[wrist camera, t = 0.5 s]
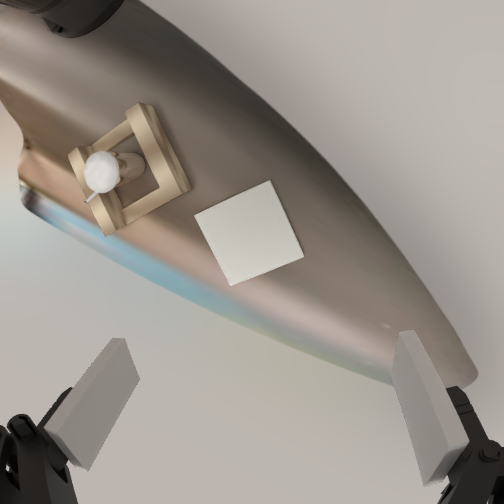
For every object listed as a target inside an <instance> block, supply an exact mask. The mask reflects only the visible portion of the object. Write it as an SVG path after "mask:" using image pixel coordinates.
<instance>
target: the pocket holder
mask: <svg viewBox="0 0 504 504" xmlns="http://www.w3.org/2000/svg"><path fill="white" fill-rule="evenodd" d="M125 114H126V116H127V118H128V119H127V120H125V121H124V122H123V123H121V124H120V125H118V126H117V127H115V128H114V129H113V130H111V131H110V132H108V133H107V134H106V135H104V136H103V137H102V138H100V139H99V140H98V141H96V142H95V143H94V144H92V145H91V146H83V147H77V148H76V149H74V150H73V151H72V152H71V153H70V154H68V158H69V160H70V163H71V165H72V167H73V170H74V172H75V174H76V177H77V179H78V181H79V183H80V186H81V188H82V190H83V192H84V194H85V196H86V199H87V198H89V197H90V196H91V195H92V194H93V193H94V192H95V191H93V190H92V189H90V188H89V187H88V185H87V183H86V180H85V177H84V174H83V171H84V167H85V164H86V161H87V159H88V158H89V157H90V156H91V155H92V154H94V153H96V152H99V151H108V152H109V151H110V150H112V149H113V148H115V147H116V146H117V145H119V144H120V143H122V142H123V141H125V140H126V139H128V138H129V137H131V136H132V135H134V134H135V136H136V138H137V140H138V142H139V144H140V147H141V149H142V151H143V153H144V155H145V157H146V159H147V161H148V163H149V166H150V168H151V170H152V172H153V174H154V176H155V178H156V180H157V182H158V184H159V186H160V188H159V189H157V190H155V191H153V192H152V193H150V194H148V195H146V196H145V197H143V198H141V199H140V200H138V201H136V202H134V203H133V204H131V205H129V206H128V207H126V208H123V206H122V204H121V202H120V200H119V198H118V196H117V194H116V192H115V190H114V189H112V190H110V191H108V192H106V193H97V194H96V195H95V196H94V197H93V198H92V199H91V200H90V201H89V202H88V203H89V205H90V207H91V209H92V211H93V213H94V215H95V217H96V219H97V221H98V223H99V225H100V227H101V229H102V231H103V233H104V235H105V237H106V236H107V235H109V234H111V233H113V232H115V231H116V230H118V229H120V228H122V227H124V226H125V225H127V224H129V223H130V222H132V221H134V220H136V219H138V218H139V217H141V216H143V215H145V214H146V213H148V212H150V211H152V210H154V209H156V208H157V207H159V206H161V205H163V204H165V203H167V202H168V201H170V200H172V199H174V198H176V197H178V196H180V195H182V194H184V193H185V192H187V191H189V190H191V189H192V187H191V185H190V183H189V181H188V179H187V177H186V175H185V173H184V171H183V169H182V167H181V165H180V163H179V160H178V158H177V156H176V154H175V152H174V150H173V148H172V146H171V144H170V142H169V140H168V138H167V136H166V134H165V132H164V129H163V127H162V125H161V123H160V121H159V119H158V117H157V115H156V113H155V111H154V108H153V106H151V105H147V104H143V103H139V102H138V103H136V104H135V105H133V106H132V107H130V108H129V109H127V110H126V111H125Z"/></svg>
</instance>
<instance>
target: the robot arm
mask: <svg viewBox="0 0 504 504" xmlns="http://www.w3.org/2000/svg"><path fill="white" fill-rule="evenodd" d="M122 1H123V0H0V4H3V5H6V6H10V7H13V8H16V9H20V10H23V11H26V12H29V13H32V14H35V16H36V17H37V18H38V19H39V20H40V21H41V22H42V23H43V24H44V25H45V27H46V28H47V29H48V30H49V31H51V32H52V33H54V34H57V35H59V36H62V37H66V38H73V37H78V36H82V35H84V34H86V33H89V32H90V31H92V30H94V29H95V28H97V27H98V26H100V25H101V24H102V23H103V22H105V21H106V20H107V19H108V18H109V17H110V16H111V15H112V14H113V13H114V12H115V11H116V9H117V8H118V7H119V6H120V4H121V3H122ZM391 379H392V382H393V385H394V388H395V390H396V394H397V397H398V400H399V403H400V405H401V409H402V412H403V415H404V418H405V421H406V424H407V428H408V431H409V434H410V437H411V441H412V444H413V448H414V451H415V455H416V459H417V462H418V466H419V470H420V473H421V476H422V481H423V485H424V487H425V486H429V485H433V484H437V483H440V482H442V481H443V480H444V479H445V477H446V476H447V475H448V478H449V481H450V483H449V484H448V485H447V486H446V488H445V489H444V490H443V492H442V493H441V494H443V495H442V496H441V498H440V500H439V502H438V504H487V501H488V504H504V447H501V446H500V445H499V443H497V442H495V441H493V440H489V439H488V437H487V435H486V433H485V431H484V429H483V427H482V425H481V423H480V421H479V419H478V417H477V415H476V413H475V412H474V409H473V407H472V405H471V404H470V401H469V399H468V398H467V395H466V394H465V393H464V392H463V391H462V390H461V389H460V388H459V387H457V386H454V387H450V388H446V389H445V387H444V385H443V383H442V381H441V379H440V377H439V375H438V373H437V371H436V369H435V367H434V366H433V364H432V362H431V360H430V358H429V356H428V354H427V352H426V351H425V349H424V347H423V345H422V343H421V341H420V340H419V338H418V336H417V334H416V333H415V331H414V330H409V331H401V332H399V334H398V340H397V346H396V352H395V357H394V362H393V367H392V372H391ZM139 380H140V378H139V376H138V373H137V371H136V368H135V365H134V363H133V360H132V357H131V355H130V352H129V349H128V347H127V344H126V341H125V339H121V338H112V339H111V340H110V342H109V343H108V344H107V345H106V347H105V348H104V349H103V350H102V352H101V353H100V354H99V355H98V357H97V358H96V359H95V360H94V362H93V363H92V364H91V366H90V367H89V368H88V369H87V371H86V372H85V374H83V376H82V377H81V378H80V380H79V381H78V382H77V384H76V385H75V386H74V387H73V388H72V387H70V388H68V389H67V390H66V391H64V392H63V393H62V394H61V395H60V397H59V398H58V399H57V402H55V403H54V404H53V406H52V408H50V410H49V411H48V412H47V414H46V415H45V416H44V417H43V419H42V420H41V422H40V423H39V424H38V426H37V427H36V426H35V424H34V423H33V421H32V420H31V418H30V417H29V416H28V415H26V414H18V415H16V416H14V417H12V418H11V419H10V420H9V422H8V424H7V428H8V430H9V431H10V432H11V433H9V432H8V431H7V430H6V429H5V427H3V426H1V425H0V504H78V502H77V498H76V495H75V491H74V488H73V484H72V480H71V476H70V472H69V468H68V467H67V465H66V463H67V461H68V460H69V461H70V462H71V463H72V464H73V465H74V467H76V468H78V469H81V470H84V471H87V472H88V471H89V470H90V468H91V466H92V464H93V462H94V460H95V458H96V457H97V455H98V453H99V451H100V449H101V447H102V446H103V444H104V442H105V440H106V438H107V436H108V435H109V433H110V431H111V429H112V427H113V426H114V424H115V422H116V420H117V419H118V417H119V415H120V413H121V412H122V410H123V408H124V406H125V404H126V403H127V401H128V399H129V398H130V396H131V394H132V392H133V390H134V389H135V387H136V385H137V384H138V382H139ZM6 465H8V466H9V467H10V468H9V471H7V470H6ZM488 499H489V500H488Z"/></svg>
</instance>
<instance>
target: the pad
mask: <svg viewBox="0 0 504 504" xmlns="http://www.w3.org/2000/svg"><path fill="white" fill-rule="evenodd" d="M194 217H195V218H196V220H197V222H198V224H199V226H200V228H201V230H202V232H203V234H204V236H205V238H206V240H207V242H208V244H209V246H210V248H211V250H212V252H213V254H214V255H215V257H216V259H217V261H218V263H219V265H220V267H221V269H222V271H223V273H224V275H225V276H226V278H227V280H228V282H229V284H230V286H232V285H235V284H237V283H240V282H242V281H245V280H248V279H250V278H253V277H255V276H258V275H260V274H263V273H265V272H268V271H270V270H273V269H275V268H278V267H280V266H283V265H285V264H288V263H291V262H293V261H295V260H298V259H300V258H303V257H304V253H303V251H302V249H301V247H300V244H299V242H298V240H297V237H296V235H295V233H294V231H293V228H292V226H291V224H290V222H289V220H288V217H287V215H286V213H285V211H284V208H283V206H282V204H281V202H280V200H279V198H278V195H277V193H276V191H275V189H274V187H273V185H272V182H271V180H268V181H266V182H264V183H261V184H259V185H257V186H255V187H252V188H250V189H248V190H246V191H244V192H242V193H239V194H237V195H235V196H233V197H231V198H229V199H227V200H224V201H222V202H220V203H218V204H216V205H214V206H212V207H210V208H208V209H206V210H203V211H201V212H199V213H197V214H196V215H194Z"/></svg>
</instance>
